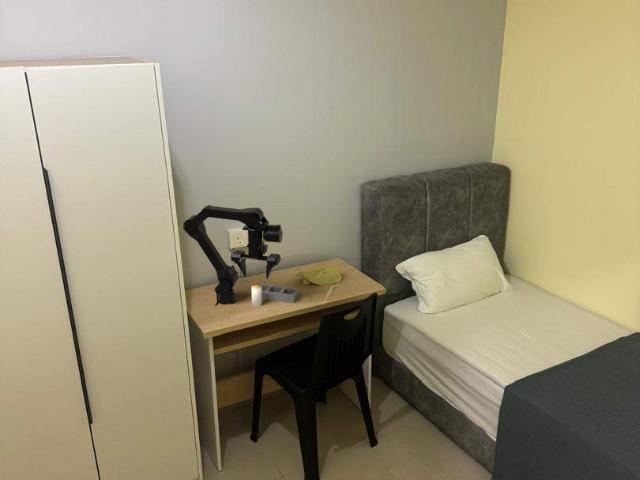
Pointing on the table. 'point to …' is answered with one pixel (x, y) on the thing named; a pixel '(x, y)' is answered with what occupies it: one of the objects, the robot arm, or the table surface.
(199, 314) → the table surface
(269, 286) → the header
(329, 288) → the table surface
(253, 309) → the table surface
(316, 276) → the plastic component
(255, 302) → the plug
